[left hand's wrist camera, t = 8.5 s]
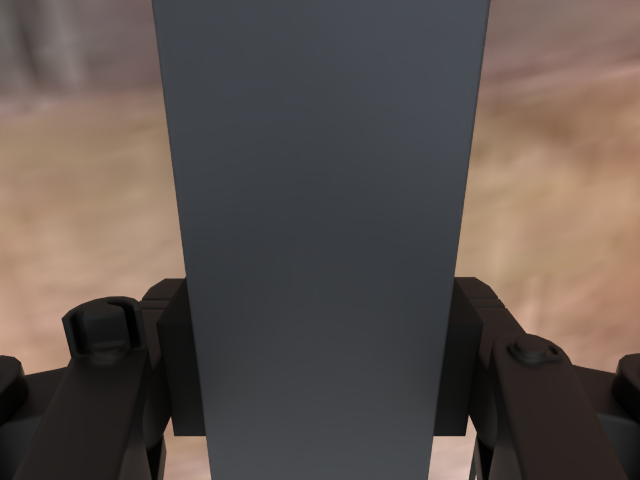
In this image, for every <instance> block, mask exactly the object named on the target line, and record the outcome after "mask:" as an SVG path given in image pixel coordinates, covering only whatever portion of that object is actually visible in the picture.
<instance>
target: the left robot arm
mask: <svg viewBox="0 0 640 480" xmlns="http://www.w3.org/2000/svg"><path fill="white" fill-rule="evenodd" d="M62 322H63V326H64V330H65V334H66V338H67V342H68V346H69V350H70V354H71V360H70V362H69V364H68V366H67V367H64V368H60V369H55V370H50V371H45V372H40V373H35V374H30V375H25V374H24V371H23V368H22V364H21V362H20V361H19V360H17V359H16V358H15V357H10V356H4V355H1V356H0V480H163V477H164V468H165V460H166V447H165V440H164V435H163V433H164V431H165V429H166V426H167V424H168V422H169V419H170V417H171V419H172V425H173V431H174V436H206V432H205V424H204V415H203V407H202V399H201V391H200V383H199V375H198V367H197V359H196V351H195V343H194V335H193V327H192V319H191V311H190V303H189V295H188V287H187V279H186V277H185V279H164V280H162V281H161V282H159V283H157V284H156V285H154V286H152V287H151V288H150V289H149V290H148V291H147V293H146V294H145V295H144V297H143V298H142V301H140V302H138V301H137V300H135V299H134V298H129V297H124V296H114V297H105V298H100V299H95V300H92V301H89V302H86V303H83V304H81V305H79V306H77V307H75V308H74V309H72V310H70V311H69V312H68V313H67V314H66V315H65V316H64V317H63V318H62ZM469 415H470V418H471V420H472V422H473V425H474V427H475V429H476V432H477V435H476V440H475V446H474V452H473V458H472V463H471V469H470V475H469V480H475V477H476V476H477V480H640V354H639V353H636V354H630V355H625V356H624V357H623V358H621V359H620V360H619V363H618V366H617V370H616V373H610V372H605V371H600V370H595V369H589V368H584V367H580V366H576V365H572V363H571V361H570V359H569V357H568V356H567V355H566V353H565V352H564V351H563V350H562V349H561V348H560V347H558V346H557V345H555V344H554V343H552V342H551V341H549V340H546V339H544V338H541V337H539V336H536V335H532V334H527V333H526V332H525V331H524V330H523V328H522V327H521V326H520V325H519V323H518V322H517V321H516V320H515V318H514V317H513V316H512V314H511V313H510V312H509V311H508V309H507V308H505V305H504V304H503V303H502V302H501V300H500V299H498V296H497V295H496V294H495V293H494V291H493V290H492V289H491V288H490V286H488V285H487V284H485V283H483V282H482V281H480V280H478V279H477V278H475V277H454V283H453V290H452V298H451V306H450V313H449V321H448V328H447V336H446V344H445V351H444V359H443V367H442V374H441V382H440V390H439V397H438V405H437V412H436V420H435V428H434V435H433V436H465V435H466V429H467V423H468V417H469Z"/></svg>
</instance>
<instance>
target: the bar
mask: <svg viewBox="0 0 640 480" xmlns="http://www.w3.org/2000/svg"><path fill="white" fill-rule="evenodd" d="M152 6H153V14H154V22H155V30H156V38H157V46H158V54H159V62H160V70H161V78H162V86H163V94H164V102H165V110H166V118H167V126H168V134H169V142H170V150H171V158H172V166H173V174H174V182H175V190H176V199H177V207H178V215H179V223H180V231H181V239H182V247H183V255H184V263H185V271H186V279H187V287H188V295H189V303H190V311H191V319H192V327H193V335H194V343H195V351H196V359H197V367H198V375H199V383H200V391H201V399H202V407H203V415H204V424H205V432H206V440H207V448H208V456H209V464H210V472H211V480H428V474H429V466H430V458H431V451H432V443H433V435H434V428H435V420H436V412H437V405H438V397H439V390H440V382H441V374H442V367H443V359H444V351H445V344H446V336H447V328H448V321H449V313H450V306H451V298H452V290H453V283H454V275H455V267H456V260H457V252H458V244H459V237H460V229H461V222H462V214H463V206H464V199H465V191H466V183H467V176H468V168H469V160H470V153H471V145H472V137H473V130H474V122H475V115H476V107H477V99H478V92H479V84H480V76H481V69H482V61H483V53H484V46H485V38H486V31H487V23H488V15H489V8H490V0H152Z"/></svg>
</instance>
